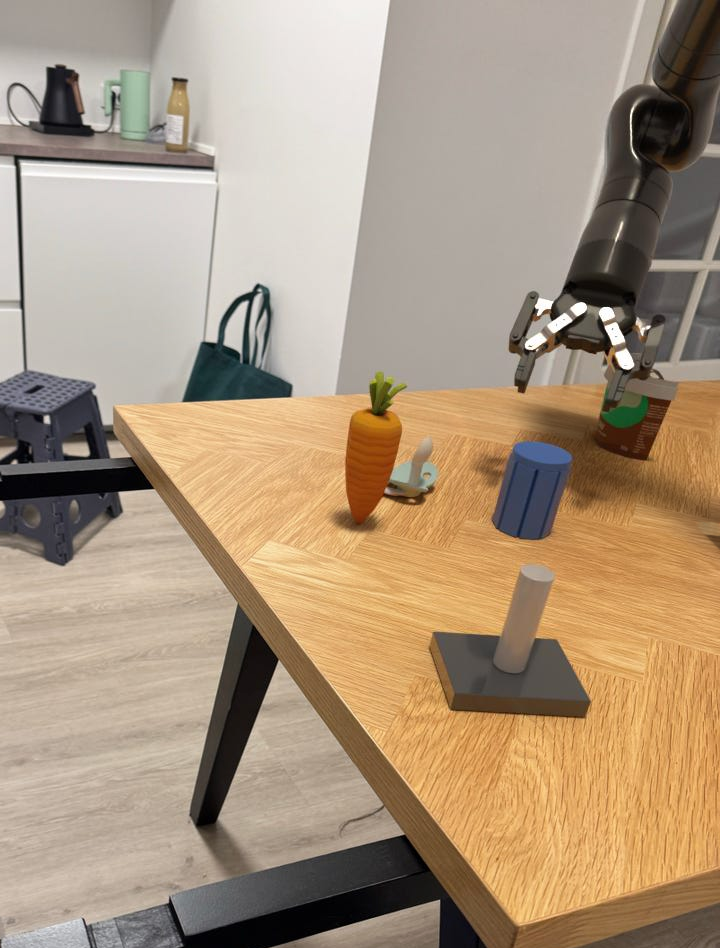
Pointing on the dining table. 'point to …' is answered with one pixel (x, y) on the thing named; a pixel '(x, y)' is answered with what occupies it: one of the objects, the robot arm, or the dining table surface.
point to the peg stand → (511, 660)
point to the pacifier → (414, 473)
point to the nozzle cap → (532, 489)
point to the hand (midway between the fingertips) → (563, 398)
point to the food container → (635, 414)
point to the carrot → (372, 448)
